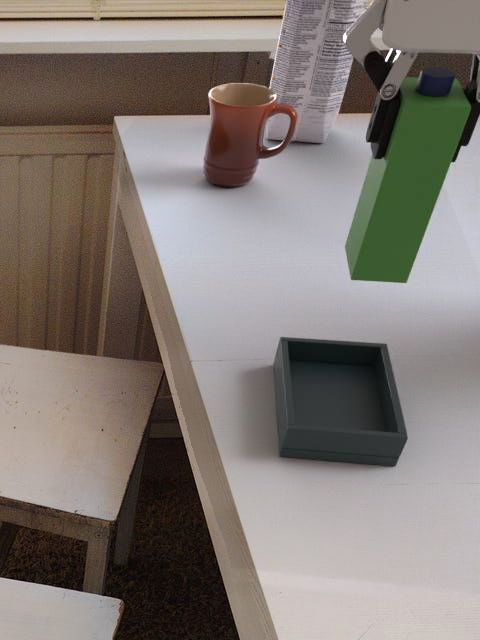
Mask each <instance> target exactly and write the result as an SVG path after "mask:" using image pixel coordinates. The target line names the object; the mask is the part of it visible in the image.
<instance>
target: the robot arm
mask: <svg viewBox="0 0 480 640" xmlns="http://www.w3.org/2000/svg"><path fill="white" fill-rule="evenodd" d="M378 29H379V30H380V31H381V32H382V33H381V40H382V42H383V44H384V45H385V46H386V47H388V48H389V49H390V50H389V52H388V53H387V56H386V58H385V57H384V56H383V54H382V52H381V50H380V49H379V48H378V47H377V46H376V45H375V44H374V43H373V42H372V40H371V39H372V36H373V34H374V33H375V32H376V31H377V30H378ZM343 41H344V45H345V47H346V49H347V50H348V51H349V52H350V53H351V54H352V55H353V57H354V58H353V59H355V60H356V61H357V62H358V63H359V64H360V65H361V67H362V68H363V69H364V71H365V72H366V74H367V75H368V77H369V78H370V80H371V82H372V84H373V85H374V87H375V89H376V90H377V93H376V97H375V102H374V105H373V108H372V110H371V111H372V112H371V115H370V118H369V122H368V125H367V129H366V133H365V142H366V143H370V150H371V153H372V154H373V157H374V159H382V157H385V154H386V151H387V147H388V144H389V141H390V138H391V134H392V131H393V128H394V125H395V122H396V118H397V115H398V112H399V109H400V105H401V102H400V99H399V93H400V90H401V89H400V86H401V84H402V83H403V81H404V79H405V77H407V75H408V73H409V72H410V69H411V68H412V66H413V64H414V62H415V60H416V58H417V56H419V55H418V54H419V53H422V54H423V53H424V54H425V53H426V54H463V55H464V54H465V55H470V54H471V55H472V60H471V67H470V76H469V82H466V85H465V88H462V90H463V92H464V94H465V96H466V98H467V100H468V102H469V104H470V106H471V110H470V113H469V115H468V118H467V121H466V123H465V126H464V129H463V132H462V134H461V137H460V140H459V142H458V145H457V148H456V150H455V153H454V156H453V159H452V161H451V163H456V161H457V159H458V156H459V155H460V154H459V153H460V151H461V148H462V147H467V146H468V145H469V144H470V141H471V139H472V136H473V133H474V131H475V129H476V126H477V123H478V121H479V118H480V0H373V1H372V2H371V3H370V4H369V5H368V6H367V8H366V10H365V11H364V12H363V13H362V14H361V16H360V17H359V18H358V19H357V20H356V21H355V22H354V23H353V24H352V26H351V27H350V28H349V29H348V30H347V31H346V32H345V34H344V37H343ZM372 154H371V155H372Z"/></svg>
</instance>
